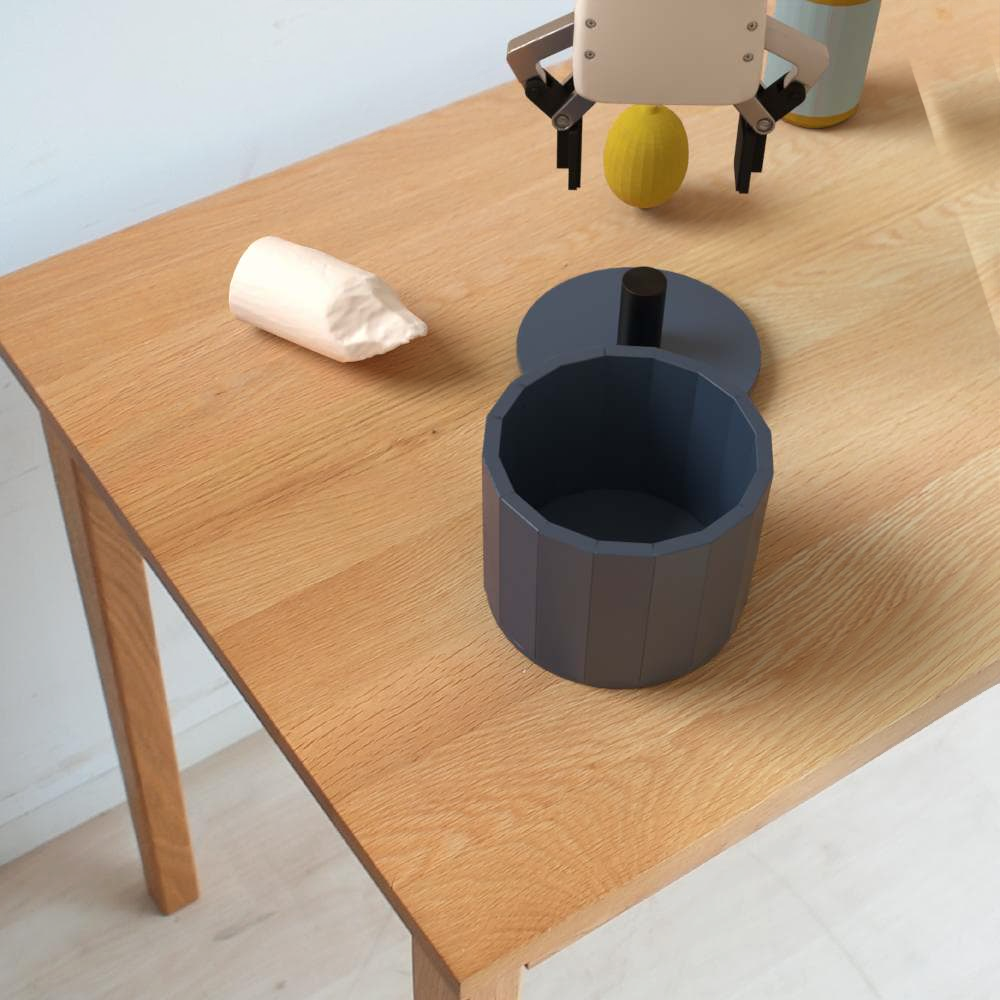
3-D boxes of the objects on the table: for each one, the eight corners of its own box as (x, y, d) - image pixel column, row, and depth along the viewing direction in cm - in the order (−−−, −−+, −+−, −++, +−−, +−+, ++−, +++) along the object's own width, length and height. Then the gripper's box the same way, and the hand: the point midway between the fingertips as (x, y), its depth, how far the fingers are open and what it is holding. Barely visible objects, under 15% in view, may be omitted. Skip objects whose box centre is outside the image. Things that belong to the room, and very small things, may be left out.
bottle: (865, 132, 103) (909, -70, 91) (766, 131, 103) (798, -70, 91) (850, 77, 107) (891, -122, 96) (755, 77, 107) (785, -122, 96)
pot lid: (754, 287, 92) (767, 207, 87) (764, 455, 82) (779, 376, 77) (524, 275, 92) (525, 196, 88) (507, 440, 83) (507, 361, 78)
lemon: (698, 218, 96) (711, 115, 90) (625, 241, 94) (633, 138, 88) (656, 173, 99) (666, 71, 93) (585, 195, 98) (590, 92, 92)
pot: (740, 491, 80) (766, 352, 72) (749, 697, 71) (780, 564, 63) (496, 478, 81) (495, 338, 73) (474, 680, 72) (471, 546, 64)
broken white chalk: (397, 410, 84) (391, 339, 80) (233, 338, 88) (220, 267, 84) (451, 350, 88) (449, 279, 83) (292, 283, 92) (282, 212, 88)
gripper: (849, -144, 73) (802, 143, 86) (508, -147, 74) (512, 137, 87) (865, -72, 68) (813, 221, 81) (499, -76, 69) (505, 214, 82)
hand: (657, 177), depth 84 cm, fingers open, 9 cm apart
